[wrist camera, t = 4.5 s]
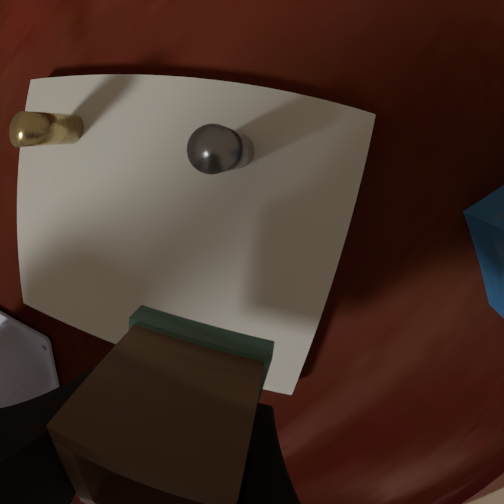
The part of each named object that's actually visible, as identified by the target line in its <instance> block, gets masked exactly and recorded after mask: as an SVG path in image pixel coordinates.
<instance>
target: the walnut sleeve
mask: <svg viewBox="0 0 504 504" xmlns="http://www.w3.org/2000/svg"><path fill="white" fill-rule="evenodd" d="M274 342H275V341H271V340H267V339H263V338H259V337H254V336H250V335H246V334H242V333H238V332H234V331H231V330H227V329H223V328H219V327H216V326H212V325H208V324H205V323H201V322H197V321H194V320H190V319H187V318H183V317H180V316H177V315H173V314H170V313H167V312H163V311H160V310H157V309H153V308H150V307H147V306H144V305H141V306H140V307H139V308H138V309H137V310H136V311H135V312H134V313H133V314H132V315H131V316H130V317H129V331H128V332H127V333H126V334H125V335H124V336H123V337H122V338H121V339H120V341H119V342H118V343H117V344H116V345H115V346H114V347H113V348H112V350H111V351H110V352H109V353H108V354H107V355H106V356H105V357H104V359H103V360H102V361H101V362H100V363H99V364H98V365H97V367H96V368H95V369H94V370H93V371H92V372H91V373H90V375H89V376H88V377H87V378H86V379H85V380H84V382H83V383H82V384H81V385H80V386H79V387H78V388H77V390H76V391H75V392H74V393H73V394H72V395H71V397H70V398H69V399H68V400H67V401H66V403H65V404H64V405H63V406H62V407H61V408H60V410H59V411H58V412H57V413H56V414H55V416H54V417H53V418H52V419H51V420H50V422H49V423H48V424H47V425H46V426H47V429H48V432H49V434H50V437H51V439H52V442H53V444H54V446H55V449H56V451H57V453H58V456H59V458H60V460H61V462H62V465H63V467H64V469H65V471H66V473H67V475H68V477H69V479H70V481H71V483H72V485H73V487H74V489H75V491H76V493H77V495H78V497H79V498H80V500H81V501H82V502H84V503H86V504H236V503H237V501H238V497H239V492H240V488H241V483H242V478H243V473H244V468H245V463H246V458H247V453H248V448H249V443H250V438H251V433H252V428H253V422H254V417H255V412H256V406H257V403H258V401H259V398H260V395H261V392H262V389H263V386H264V383H265V380H266V377H267V374H268V371H269V367H270V364H271V361H272V357H273V350H274Z"/></svg>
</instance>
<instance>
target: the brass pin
mask: <svg viewBox="0 0 504 504" xmlns="http://www.w3.org/2000/svg"><path fill="white" fill-rule="evenodd" d="M83 130H84V124H83V120H82V118H81V117H80V116H78V115H74V114H62V113H48V112H29V111H20V112H18V113H17V114H16V115H15V116H14V118H13V119H12V122H11V125H10V130H9V135H10V140H11V143H12V144H13V145H14V146H15V147H27V146H41V145H59V144H74V143H76V142H78V141H79V139H80V138H81V136H82V134H83Z"/></svg>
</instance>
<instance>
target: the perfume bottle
mask: <svg viewBox="0 0 504 504" xmlns="http://www.w3.org/2000/svg"><path fill="white" fill-rule="evenodd" d="M463 213H464V216H465V219H466V222H467V225H468V228H469V231H470V234H471V237H472V240H473V243H474V247H475V250H476V254H477V257H478V261H479V264H480V268H481V272H482V276H483V280H484V284H485V288H486V292H487V297H488V302H489V304H490V305H491V306H492V307H493V308H494V309H495V310H496V311H497V312H498V313H499V314H500V315H501V316H502V317H503V318H504V185H503V186H501V187H500V188H498V189H497V190H495V191H494V192H492V193H491V194H489V195H488V196H486V197H484V198H483V199H481V200H480V201H478V202H477V203H475V204H474V205H472V206H470V207H469V208H467V209H466V210H464V211H463Z"/></svg>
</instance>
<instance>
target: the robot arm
mask: <svg viewBox="0 0 504 504" xmlns="http://www.w3.org/2000/svg"><path fill="white" fill-rule="evenodd" d="M96 367H97V366H96ZM96 367H94V368H93V369H91V370H89V371H88V372H86V373H84V374H82V375H80V376H79V377H77V378H75V379H73V380H71V381H69V382H67V383H66V384H64V385H62V386H59V381H58V377H57V372H56V368H55V363H54V358H53V352H52V347H51V342H50V340H49V338H48V337H47V336H45V335H43V334H41V333H39V332H38V331H36V330H34V329H32V328H30V327H28V326H26V325H25V324H23V323H21V322H19V321H17V320H16V319H14V318H12V317H10V316H9V315H7V314H5V313H4V312H2V311H0V504H71V503H72V500H73V498H74V496H75V493H76V491H75V489H74V487H73V485H72V483H71V481H70V479H69V477H68V475H67V473H66V471H65V469H64V467H63V465H62V462H61V460H60V458H59V456H58V453H57V451H56V449H55V446H54V444H53V442H52V439H51V437H50V434H49V432H48V429H47V426H46V425H47V424H48V423H49V422H50V420H51V419H52V418H53V417H54V416H55V414H56V413H57V412H58V411H59V410H60V408H61V407H62V406H63V405H64V404H65V403H66V401H67V400H68V399H69V398H70V397H71V395H72V394H73V393H74V392H75V391H76V390H77V388H78V387H79V386H80V385H81V384H82V383H83V382H84V380H85V379H86V378H87V377H88V376H89V375H90V373H91V372H92V371H93V370H94V369H95V368H96ZM236 504H301V503H300V501H299V499H298V497H297V495H296V492H295V490H294V488H293V485H292V483H291V480H290V477H289V475H288V472H287V469H286V466H285V463H284V459H283V456H282V452H281V449H280V445H279V441H278V437H277V432H276V426H275V420H274V409H273V408H272V406H269V405H265V404H260V403H257V406H256V412H255V417H254V422H253V428H252V433H251V438H250V443H249V448H248V453H247V458H246V463H245V468H244V473H243V478H242V483H241V488H240V492H239V497H238V501H237V503H236Z"/></svg>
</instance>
